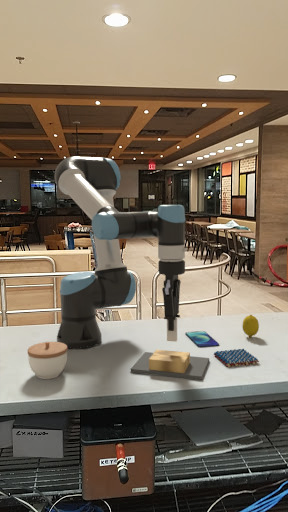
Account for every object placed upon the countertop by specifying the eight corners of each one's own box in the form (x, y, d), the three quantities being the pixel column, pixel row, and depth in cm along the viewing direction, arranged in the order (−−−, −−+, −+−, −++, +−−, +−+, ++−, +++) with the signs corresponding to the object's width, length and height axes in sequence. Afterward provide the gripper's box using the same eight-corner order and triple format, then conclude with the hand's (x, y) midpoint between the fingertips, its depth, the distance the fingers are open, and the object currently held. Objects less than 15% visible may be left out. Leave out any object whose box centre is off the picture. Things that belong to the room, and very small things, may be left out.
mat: (130, 372, 119) (130, 368, 119) (145, 355, 132) (145, 352, 132) (201, 380, 113) (201, 376, 113) (209, 361, 127) (209, 358, 126)
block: (156, 359, 126) (148, 369, 118) (156, 349, 126) (148, 359, 118) (189, 362, 123) (184, 373, 115) (189, 352, 123) (184, 362, 115)
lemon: (239, 335, 150) (239, 313, 149) (251, 333, 152) (252, 312, 151) (248, 340, 145) (249, 317, 144) (262, 338, 147) (262, 315, 146)
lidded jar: (70, 366, 124) (69, 335, 122) (64, 382, 113) (63, 348, 112) (33, 367, 123) (32, 336, 122) (24, 383, 113) (22, 349, 112)
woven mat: (260, 365, 124) (260, 359, 124) (226, 369, 121) (226, 362, 121) (244, 353, 134) (244, 347, 134) (212, 356, 132) (212, 350, 131)
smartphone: (198, 346, 139) (184, 332, 153) (198, 349, 139) (184, 334, 153) (220, 344, 140) (204, 330, 155) (220, 347, 140) (204, 333, 155)
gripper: (179, 263, 113) (180, 349, 116) (189, 257, 125) (189, 334, 128) (152, 262, 115) (153, 346, 118) (164, 256, 127) (164, 332, 130)
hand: (172, 340), depth 123 cm, fingers closed
